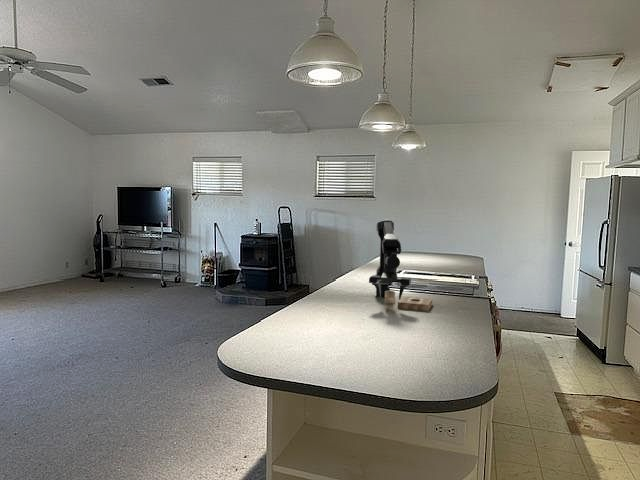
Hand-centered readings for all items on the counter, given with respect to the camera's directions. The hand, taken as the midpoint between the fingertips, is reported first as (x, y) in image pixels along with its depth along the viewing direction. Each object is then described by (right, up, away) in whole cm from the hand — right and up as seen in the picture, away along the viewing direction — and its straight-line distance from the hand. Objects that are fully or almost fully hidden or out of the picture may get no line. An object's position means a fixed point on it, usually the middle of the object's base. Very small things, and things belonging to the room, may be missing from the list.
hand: (389, 298), depth 209 cm
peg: (0, -5, 0) cm, 5 cm away
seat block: (+13, -5, +7) cm, 16 cm away
